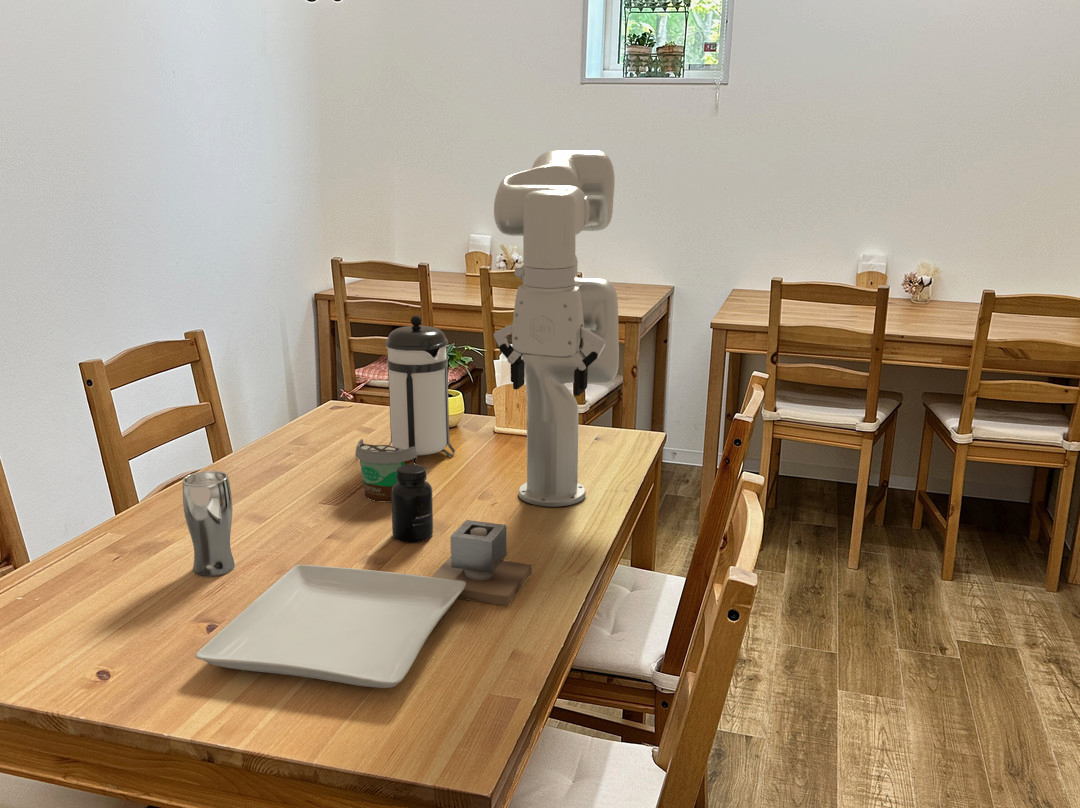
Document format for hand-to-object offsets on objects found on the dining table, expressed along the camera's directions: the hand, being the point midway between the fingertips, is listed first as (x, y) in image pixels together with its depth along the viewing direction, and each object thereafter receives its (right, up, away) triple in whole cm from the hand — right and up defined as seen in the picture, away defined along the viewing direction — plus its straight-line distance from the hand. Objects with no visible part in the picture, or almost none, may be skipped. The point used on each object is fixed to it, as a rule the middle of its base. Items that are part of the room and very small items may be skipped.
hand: (548, 390), depth 138 cm
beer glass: (-52, -28, +4) cm, 59 cm away
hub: (-10, -26, -1) cm, 28 cm away
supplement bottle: (-23, -24, +16) cm, 37 cm away
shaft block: (-10, -29, -1) cm, 31 cm away
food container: (-31, -20, +33) cm, 49 cm away
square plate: (-28, -34, -15) cm, 46 cm away
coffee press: (-28, -13, +58) cm, 66 cm away
